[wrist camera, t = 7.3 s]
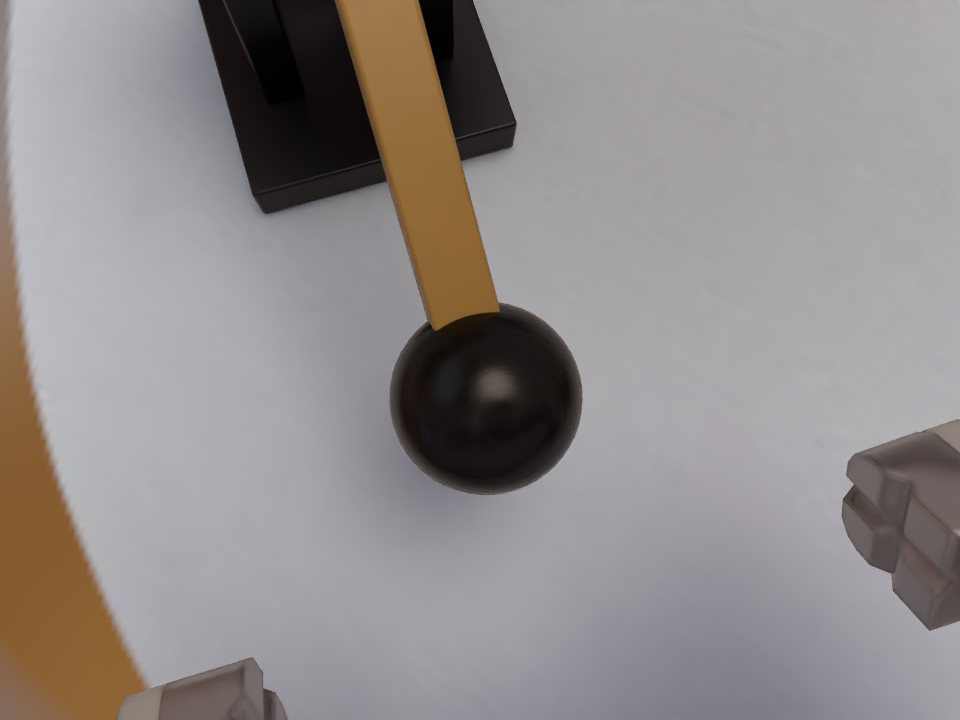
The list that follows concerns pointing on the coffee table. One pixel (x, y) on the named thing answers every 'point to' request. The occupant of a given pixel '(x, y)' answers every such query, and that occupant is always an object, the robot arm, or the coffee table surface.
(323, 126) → the black lever stand
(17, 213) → the coffee table surface
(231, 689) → the robot arm
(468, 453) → the lock lever
